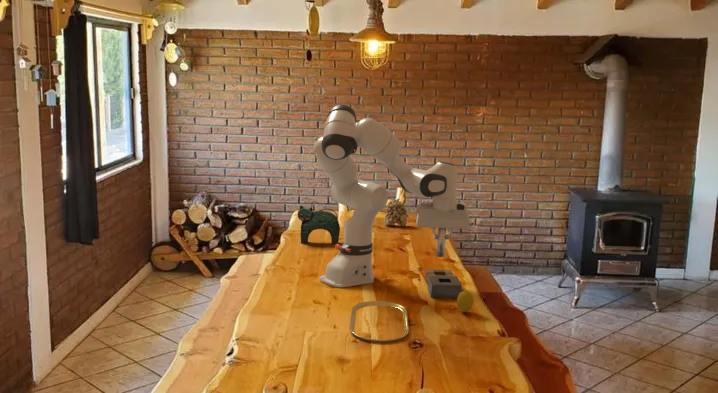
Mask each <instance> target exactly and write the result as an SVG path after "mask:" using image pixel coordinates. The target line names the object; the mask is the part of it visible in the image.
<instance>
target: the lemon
mask: <svg viewBox="0 0 718 393" xmlns="http://www.w3.org/2000/svg"><path fill="white" fill-rule="evenodd" d="M456 304H457V305H456V306H457V308H458V309H459V310H460V311H462V312H463V313H466V312H469V311H470V310H472V308H473V306H474V297H473V294H472V293H471V292H470V291H468V290H467V289H464V290H463V291H462V292H461V293H460V294H459V295H458V298H456Z"/></svg>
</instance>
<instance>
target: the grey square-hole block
mask: <svg viewBox="0 0 718 393" xmlns="http://www.w3.org/2000/svg"><path fill="white" fill-rule="evenodd" d="M462 289H463V285H462V283H461V282H460V280H459V278H458V276H457V275H454V276H428V285H427V291H428V293H429V296H430V298H431V299H457V298H458V295H459V294H460V293H461V292H462Z"/></svg>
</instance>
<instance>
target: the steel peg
mask: <svg viewBox="0 0 718 393" xmlns="http://www.w3.org/2000/svg"><path fill="white" fill-rule="evenodd" d="M437 234H438V239H436V254H435V256H436V257H439V258H443V257H444V258H445V256H446V243H447V242H446V240H447V239H446V234H447V228H437Z"/></svg>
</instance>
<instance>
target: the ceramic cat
mask: <svg viewBox="0 0 718 393" xmlns="http://www.w3.org/2000/svg"><path fill="white" fill-rule="evenodd" d="M313 203H316V204H318V205H320V203H319V202H318V201H316V200H315V201H312V202H311V205H310V207H308V206H303V205H300V206H299V209H298V212H297V219H298V220H300V221H301V225H300V244H308V243H309V237H310V235H311V233H312V232H313V231H315V230H324V231H326V232H328V233H329V234H330V240H331V244H334V245H336V244H339V240H340V232H341V231H340V230H341V225H340V222H339V219H338V217H339V216H338V214H337V213H336V211H335V210H333V209H331V208H322V209H318V210H316V209H313V206H312V205H313Z"/></svg>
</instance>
